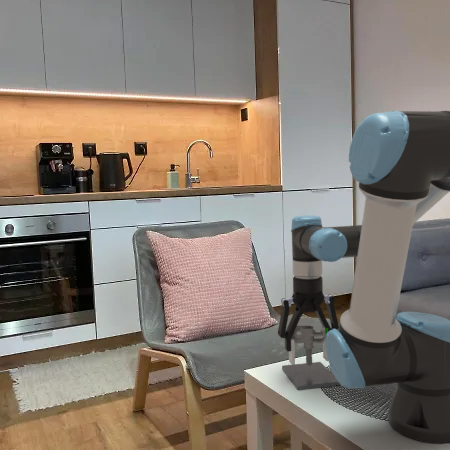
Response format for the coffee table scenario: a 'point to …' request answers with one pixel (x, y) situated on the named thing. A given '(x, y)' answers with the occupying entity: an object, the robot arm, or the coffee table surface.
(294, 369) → the plate
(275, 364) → the coffee table surface
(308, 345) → the mechanical component
